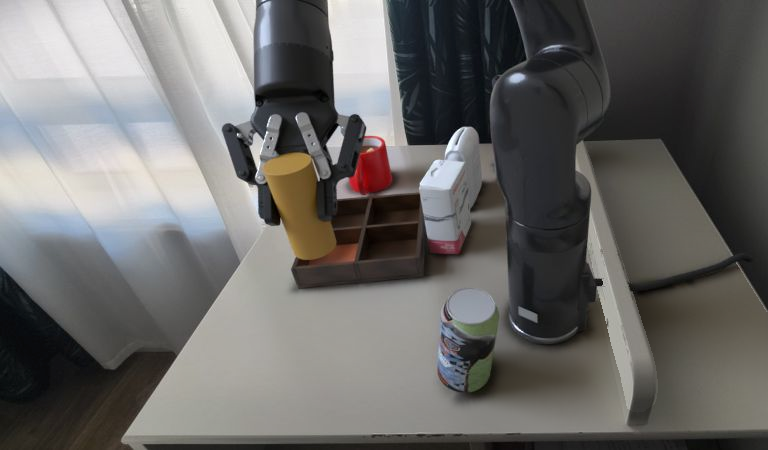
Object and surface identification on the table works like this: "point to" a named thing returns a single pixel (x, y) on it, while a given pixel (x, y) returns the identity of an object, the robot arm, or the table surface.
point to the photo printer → (467, 158)
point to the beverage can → (467, 339)
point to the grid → (370, 243)
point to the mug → (372, 167)
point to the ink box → (446, 206)
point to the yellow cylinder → (299, 204)
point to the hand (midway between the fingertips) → (299, 221)
